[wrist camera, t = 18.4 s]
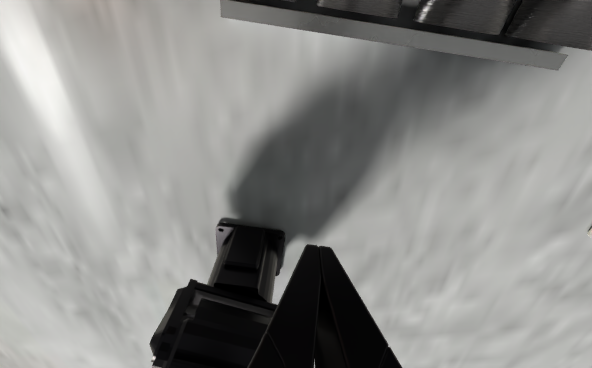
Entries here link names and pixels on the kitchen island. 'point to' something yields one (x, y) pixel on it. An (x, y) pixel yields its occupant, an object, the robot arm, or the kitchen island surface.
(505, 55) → the track
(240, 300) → the robot arm
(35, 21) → the kitchen island surface
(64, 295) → the kitchen island surface
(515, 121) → the kitchen island surface
